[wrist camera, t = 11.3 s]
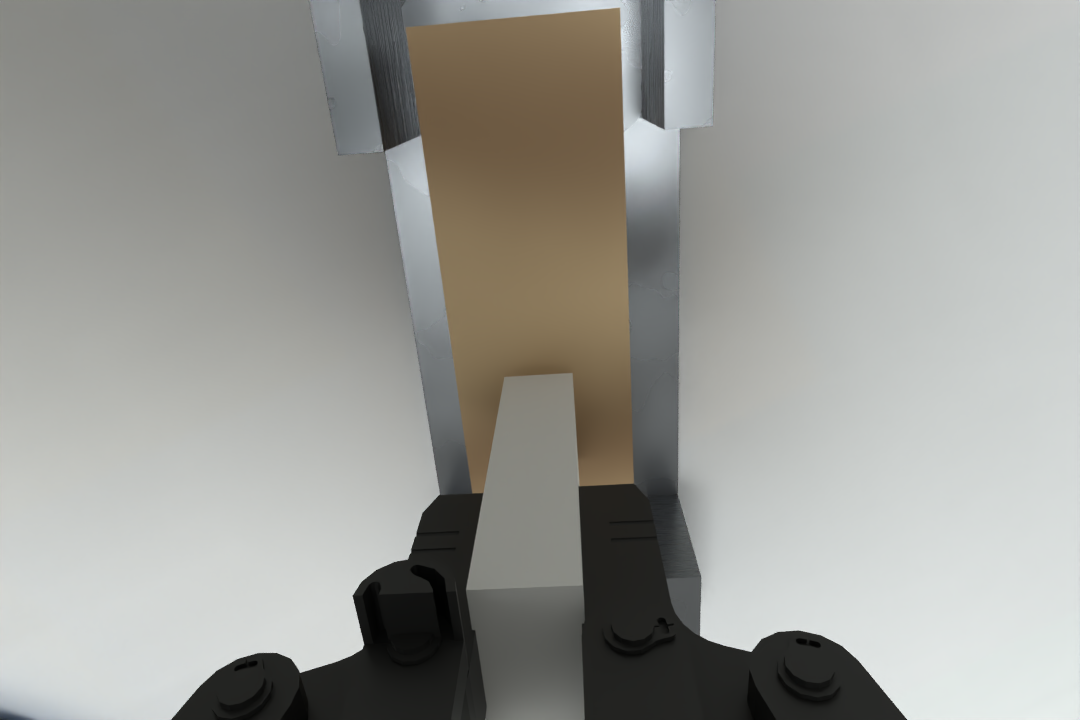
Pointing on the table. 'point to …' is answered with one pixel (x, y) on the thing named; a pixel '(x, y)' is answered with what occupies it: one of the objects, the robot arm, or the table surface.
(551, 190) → the long wooden block
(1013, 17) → the table surface
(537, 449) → the robot arm
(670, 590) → the gray cradle tray
